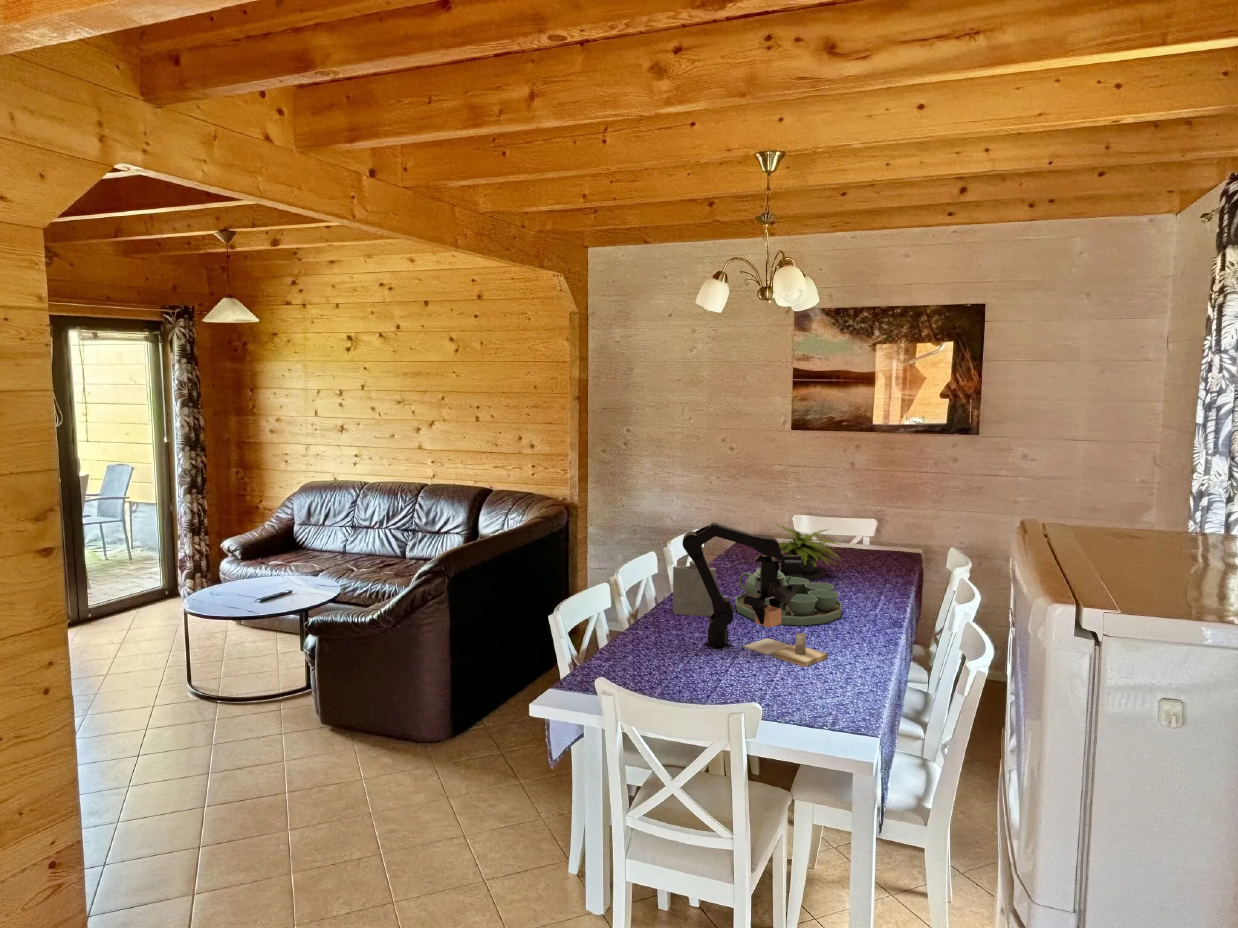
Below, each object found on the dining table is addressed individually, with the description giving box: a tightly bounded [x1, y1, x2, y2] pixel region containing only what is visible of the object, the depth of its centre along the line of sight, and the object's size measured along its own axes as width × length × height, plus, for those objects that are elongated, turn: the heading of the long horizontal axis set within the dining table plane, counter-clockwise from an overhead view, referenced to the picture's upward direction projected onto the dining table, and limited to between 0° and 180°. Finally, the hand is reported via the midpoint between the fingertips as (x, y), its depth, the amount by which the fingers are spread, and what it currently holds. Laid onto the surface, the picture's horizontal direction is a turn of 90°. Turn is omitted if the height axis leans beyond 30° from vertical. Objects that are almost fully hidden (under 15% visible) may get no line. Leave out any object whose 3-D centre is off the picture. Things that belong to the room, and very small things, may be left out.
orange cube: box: [754, 606, 782, 628], centre depth 270 cm, size 6×6×5 cm
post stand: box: [772, 632, 829, 668], centre depth 262 cm, size 12×12×8 cm
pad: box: [743, 637, 793, 656], centre depth 272 cm, size 12×10×1 cm
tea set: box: [734, 567, 843, 627], centre depth 313 cm, size 40×40×16 cm
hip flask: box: [672, 560, 717, 617], centre depth 308 cm, size 16×4×20 cm, turn 76°
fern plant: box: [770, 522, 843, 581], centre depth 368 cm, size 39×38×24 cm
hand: (768, 622), depth 271 cm, fingers closed on orange cube, 6 cm apart
